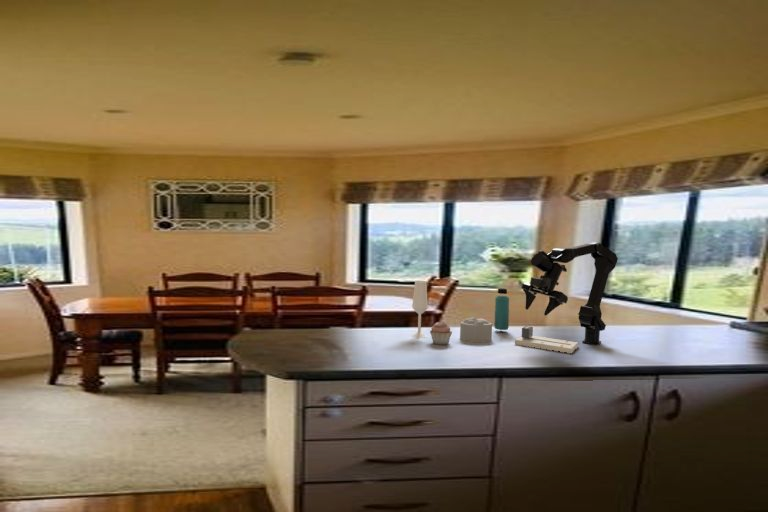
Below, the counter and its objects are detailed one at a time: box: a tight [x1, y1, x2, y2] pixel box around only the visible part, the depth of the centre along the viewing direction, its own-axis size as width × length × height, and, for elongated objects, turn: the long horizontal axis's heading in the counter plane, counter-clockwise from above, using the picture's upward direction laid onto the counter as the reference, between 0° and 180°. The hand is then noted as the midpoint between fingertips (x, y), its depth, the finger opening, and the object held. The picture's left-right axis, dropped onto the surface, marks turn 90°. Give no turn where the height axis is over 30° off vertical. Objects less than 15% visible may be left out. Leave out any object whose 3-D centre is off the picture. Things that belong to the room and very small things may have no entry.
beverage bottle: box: [493, 287, 510, 331], centre depth 216 cm, size 6×7×20 cm
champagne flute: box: [411, 280, 429, 339], centre depth 204 cm, size 7×7×24 cm
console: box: [514, 335, 579, 354], centre depth 193 cm, size 12×22×2 cm, turn 56°
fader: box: [521, 325, 534, 338], centre depth 197 cm, size 5×3×4 cm, turn 146°
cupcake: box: [429, 319, 453, 346], centre depth 193 cm, size 9×9×10 cm
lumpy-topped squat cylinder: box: [459, 317, 493, 343], centre depth 202 cm, size 10×13×9 cm
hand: (535, 312), depth 187 cm, fingers open, 9 cm apart
